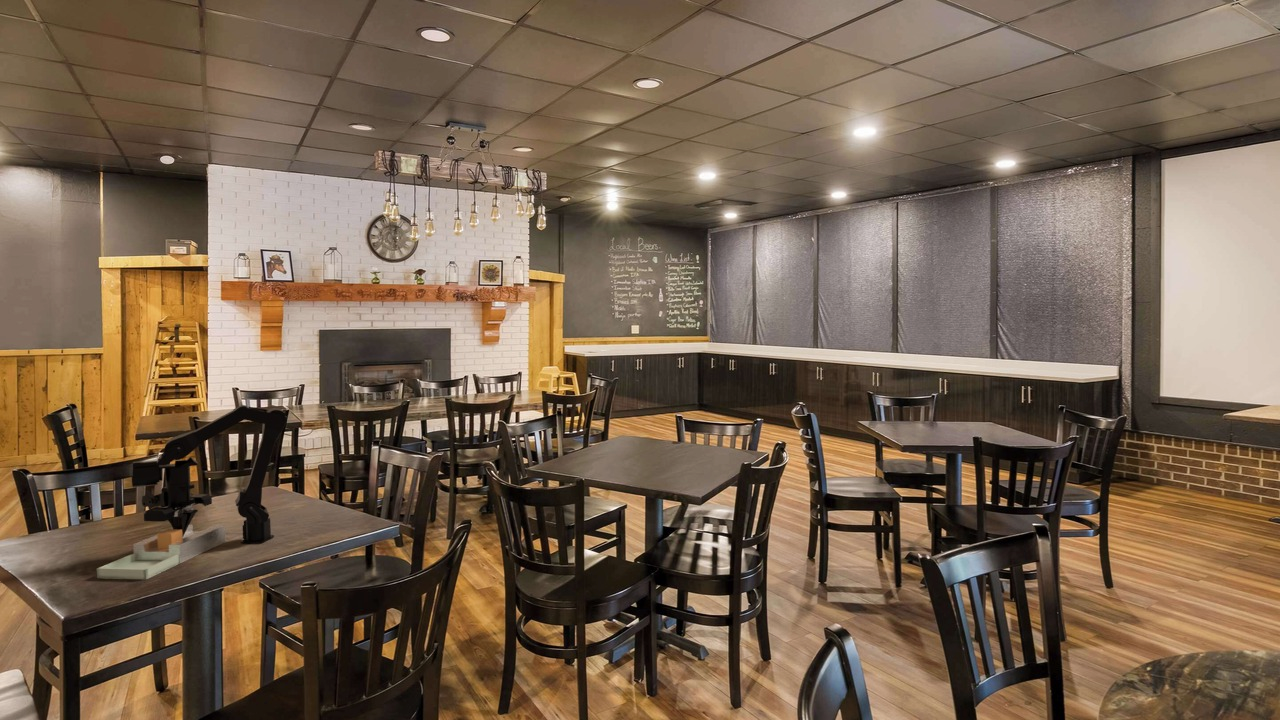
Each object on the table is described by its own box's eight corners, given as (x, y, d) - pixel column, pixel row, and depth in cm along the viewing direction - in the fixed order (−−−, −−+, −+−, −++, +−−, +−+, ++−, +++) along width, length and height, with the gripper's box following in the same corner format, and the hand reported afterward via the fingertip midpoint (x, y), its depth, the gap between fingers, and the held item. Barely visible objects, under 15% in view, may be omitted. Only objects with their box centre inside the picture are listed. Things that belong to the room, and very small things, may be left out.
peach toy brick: (182, 543, 188) (182, 529, 188) (171, 548, 184) (171, 533, 184) (169, 543, 189) (168, 529, 188) (157, 548, 185) (157, 533, 184)
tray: (178, 564, 181) (178, 554, 181) (146, 579, 170) (145, 569, 170) (132, 563, 182) (132, 553, 182) (97, 578, 171) (96, 568, 171)
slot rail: (225, 541, 199) (225, 525, 199) (180, 563, 181) (179, 544, 181) (183, 541, 200) (182, 524, 200) (134, 562, 182) (133, 544, 182)
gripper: (176, 474, 199) (178, 527, 200) (123, 490, 181) (125, 547, 182) (212, 475, 198) (214, 527, 199) (162, 491, 180) (164, 548, 181)
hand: (180, 537), depth 190 cm, fingers closed
